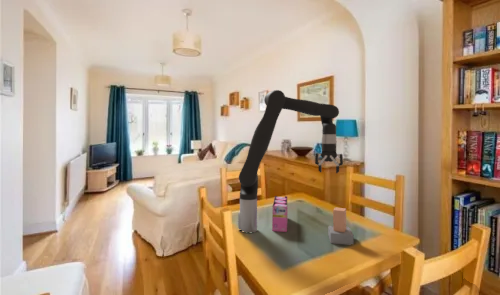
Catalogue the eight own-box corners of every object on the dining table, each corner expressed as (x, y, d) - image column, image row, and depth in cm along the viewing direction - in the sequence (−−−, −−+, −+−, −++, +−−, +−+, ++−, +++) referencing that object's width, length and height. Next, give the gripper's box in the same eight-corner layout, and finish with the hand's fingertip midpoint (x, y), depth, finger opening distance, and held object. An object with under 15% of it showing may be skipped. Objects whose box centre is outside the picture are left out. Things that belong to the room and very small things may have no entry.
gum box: (274, 216, 153) (274, 195, 153) (287, 217, 152) (287, 195, 151) (272, 231, 129) (272, 205, 129) (287, 232, 128) (287, 206, 128)
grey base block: (330, 243, 115) (330, 233, 114) (328, 235, 124) (328, 225, 124) (353, 245, 113) (353, 235, 112) (349, 237, 122) (349, 227, 122)
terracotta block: (333, 230, 118) (333, 209, 117) (335, 227, 122) (335, 207, 122) (344, 232, 115) (344, 211, 115) (346, 229, 119) (346, 208, 119)
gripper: (314, 142, 133) (314, 172, 133) (342, 143, 127) (342, 174, 127) (316, 142, 139) (316, 171, 140) (343, 142, 134) (343, 172, 134)
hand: (328, 172), depth 134 cm, fingers open, 8 cm apart
